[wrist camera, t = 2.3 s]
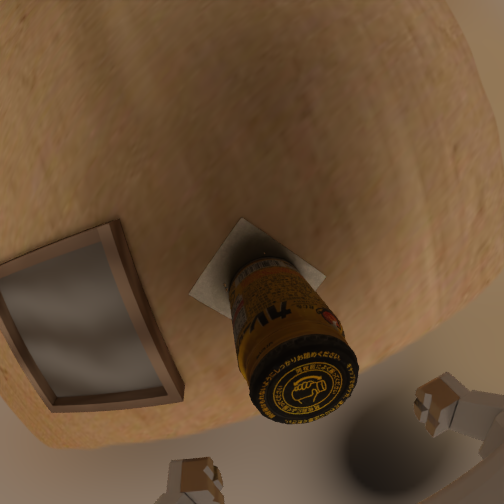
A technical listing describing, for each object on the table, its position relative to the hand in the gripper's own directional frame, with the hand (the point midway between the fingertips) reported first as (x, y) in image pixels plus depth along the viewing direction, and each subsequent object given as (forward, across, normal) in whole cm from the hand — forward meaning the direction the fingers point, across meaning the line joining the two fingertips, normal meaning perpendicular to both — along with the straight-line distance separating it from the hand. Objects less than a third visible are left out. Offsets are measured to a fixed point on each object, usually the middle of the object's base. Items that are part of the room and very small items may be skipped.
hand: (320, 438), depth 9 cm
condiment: (+15, 0, -1) cm, 15 cm away
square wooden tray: (+15, +17, -1) cm, 23 cm away
